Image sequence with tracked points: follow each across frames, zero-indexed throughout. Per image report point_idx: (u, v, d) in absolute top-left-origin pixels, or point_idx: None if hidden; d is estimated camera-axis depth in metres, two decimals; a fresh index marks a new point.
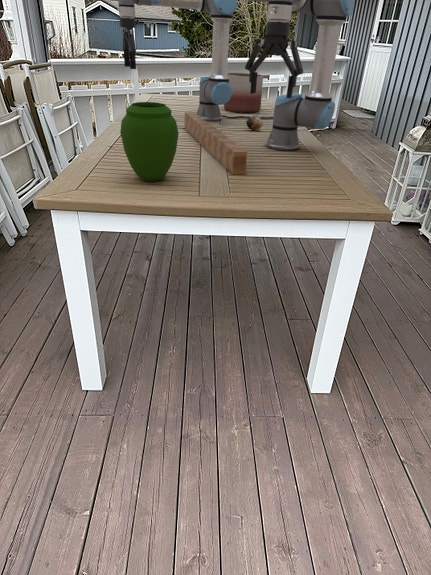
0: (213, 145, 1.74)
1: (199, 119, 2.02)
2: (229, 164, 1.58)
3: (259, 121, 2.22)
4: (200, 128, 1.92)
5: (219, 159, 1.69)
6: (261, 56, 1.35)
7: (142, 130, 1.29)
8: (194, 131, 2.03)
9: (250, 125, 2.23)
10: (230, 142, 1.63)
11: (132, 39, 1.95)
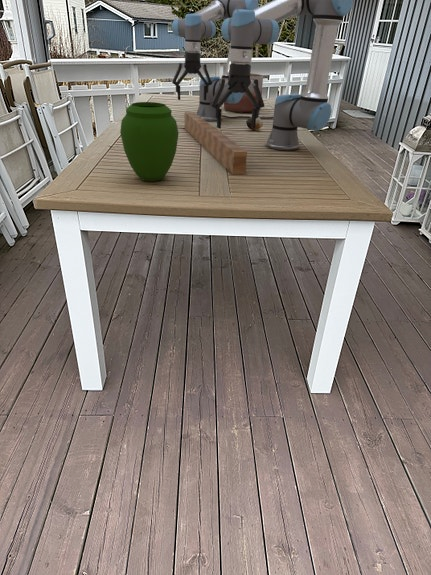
0: (213, 145, 1.74)
1: (199, 119, 2.02)
2: (229, 164, 1.58)
3: (259, 121, 2.22)
4: (200, 128, 1.92)
5: (219, 159, 1.69)
6: (228, 94, 1.45)
7: (142, 130, 1.29)
8: (194, 131, 2.03)
9: (250, 125, 2.23)
10: (230, 142, 1.63)
11: None
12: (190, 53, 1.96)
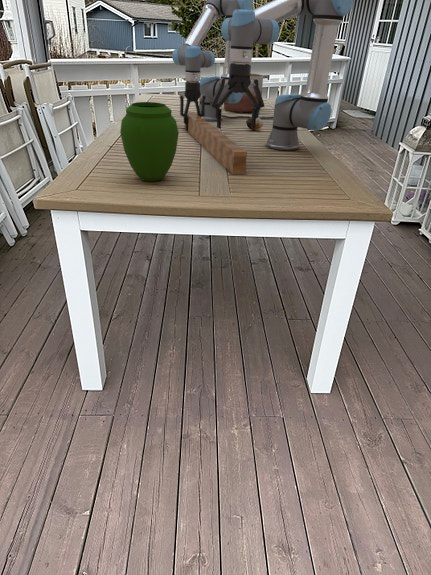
0: (213, 145, 1.74)
1: (199, 119, 2.02)
2: (229, 164, 1.58)
3: (259, 121, 2.22)
4: (200, 128, 1.92)
5: (219, 159, 1.69)
6: (228, 94, 1.45)
7: (142, 130, 1.29)
8: (194, 131, 2.03)
9: (250, 125, 2.23)
10: (230, 142, 1.63)
11: None
12: (190, 83, 2.03)
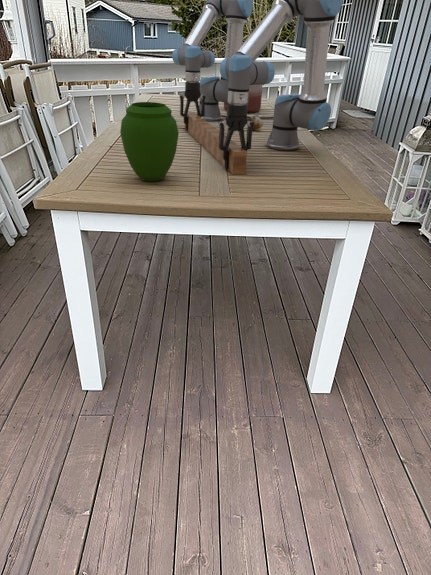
0: (213, 145, 1.74)
1: (199, 119, 2.02)
2: (229, 164, 1.58)
3: (259, 121, 2.22)
4: (200, 128, 1.92)
5: (219, 159, 1.69)
6: (230, 135, 1.53)
7: (142, 130, 1.29)
8: (194, 131, 2.03)
9: None
10: (230, 142, 1.63)
11: None
12: (190, 83, 2.03)
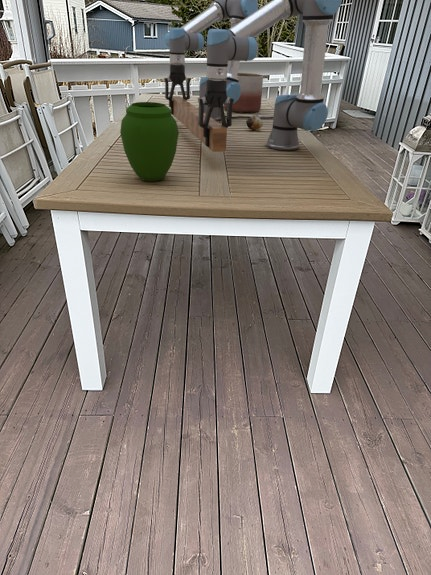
0: (196, 125, 1.73)
1: (184, 102, 2.01)
2: (209, 141, 1.57)
3: (259, 121, 2.22)
4: (184, 110, 1.90)
5: (201, 138, 1.68)
6: (210, 112, 1.52)
7: (142, 130, 1.29)
8: (179, 114, 2.02)
9: (250, 125, 2.23)
10: (211, 120, 1.62)
11: None
12: (175, 65, 2.01)
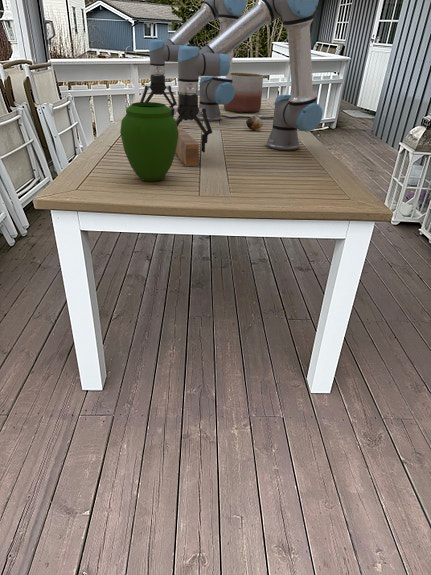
0: None
1: None
2: (183, 156, 1.64)
3: (259, 121, 2.22)
4: None
5: (176, 152, 1.75)
6: (178, 122, 1.57)
7: (142, 130, 1.29)
8: None
9: (250, 125, 2.23)
10: (185, 135, 1.70)
11: (172, 93, 2.17)
12: (155, 76, 2.08)
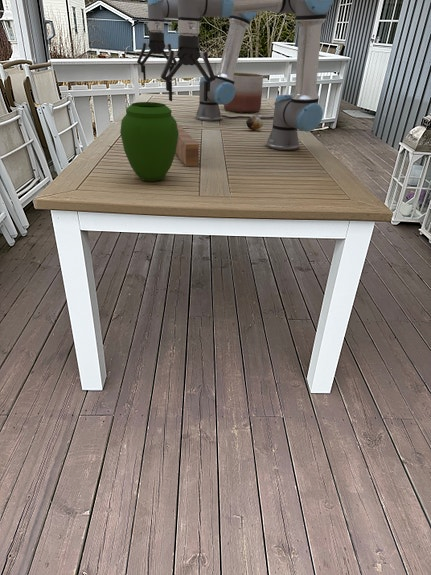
0: None
1: None
2: (183, 156, 1.64)
3: (259, 121, 2.22)
4: None
5: (176, 152, 1.75)
6: (177, 66, 1.47)
7: (142, 130, 1.29)
8: None
9: (250, 125, 2.23)
10: (185, 135, 1.70)
11: None
12: (153, 32, 1.98)
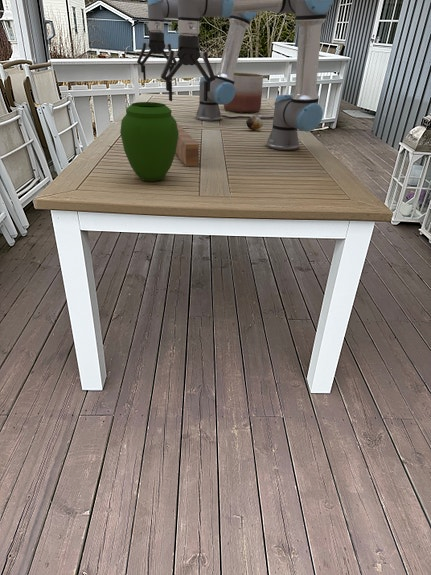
0: None
1: None
2: (183, 156, 1.64)
3: (259, 121, 2.22)
4: None
5: (176, 152, 1.75)
6: (177, 66, 1.47)
7: (142, 130, 1.29)
8: None
9: (250, 125, 2.23)
10: (185, 135, 1.70)
11: None
12: (153, 32, 1.98)
